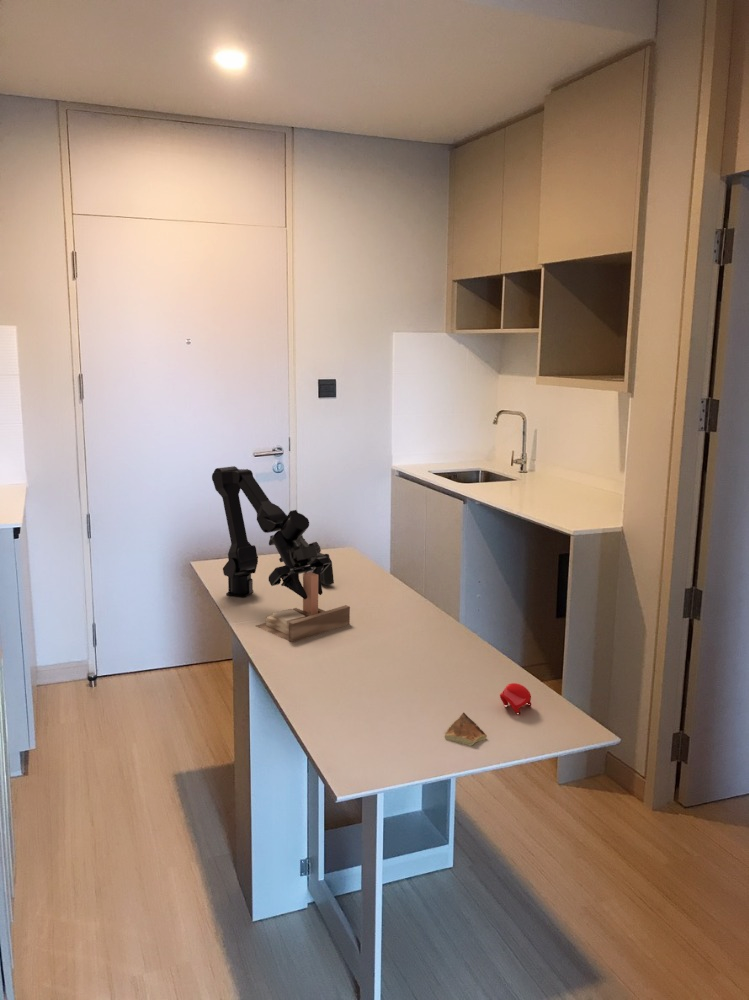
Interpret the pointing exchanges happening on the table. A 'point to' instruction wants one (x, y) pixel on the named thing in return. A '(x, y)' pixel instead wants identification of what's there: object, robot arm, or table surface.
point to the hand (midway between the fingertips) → (313, 596)
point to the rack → (305, 622)
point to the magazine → (328, 572)
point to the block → (310, 593)
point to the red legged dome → (515, 696)
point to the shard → (465, 731)
